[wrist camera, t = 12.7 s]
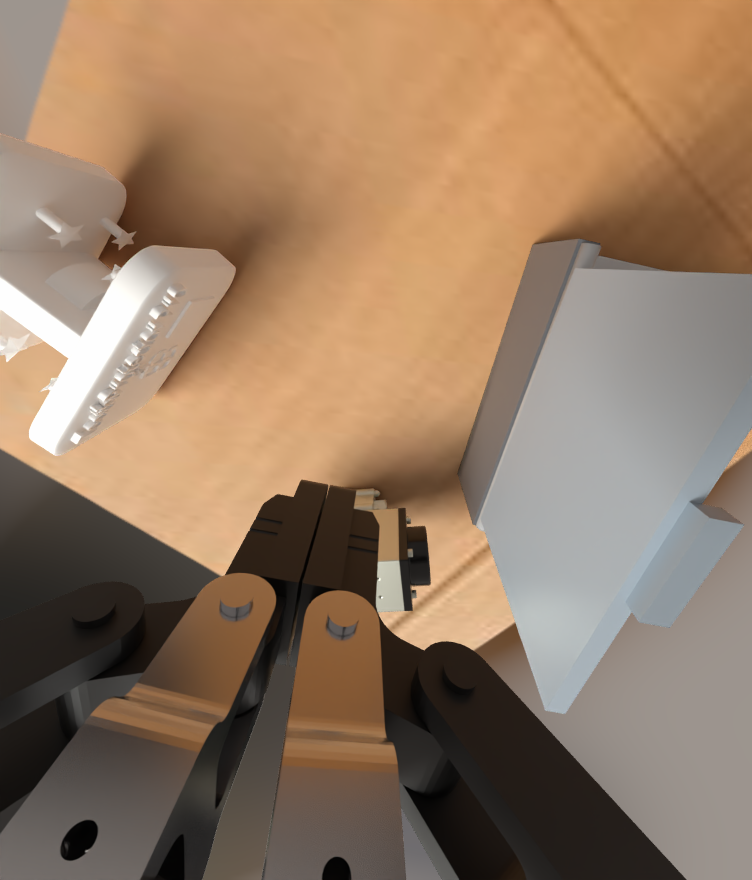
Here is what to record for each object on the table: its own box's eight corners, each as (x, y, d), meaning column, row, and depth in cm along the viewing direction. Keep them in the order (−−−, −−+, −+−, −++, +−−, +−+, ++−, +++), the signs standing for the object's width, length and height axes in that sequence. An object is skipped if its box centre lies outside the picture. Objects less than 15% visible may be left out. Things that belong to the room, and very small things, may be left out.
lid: (601, 274, 20) (574, 268, 20) (913, 291, 8) (850, 277, 8) (500, 522, 27) (480, 518, 27) (588, 739, 15) (553, 732, 15)
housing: (532, 244, 28) (586, 237, 20) (718, 286, 28) (840, 295, 21) (457, 473, 36) (475, 532, 28) (604, 502, 36) (661, 567, 29)
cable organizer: (125, 159, 27) (-50, 91, 16) (252, 272, 29) (173, 278, 19) (40, 326, 32) (-137, 357, 21) (155, 410, 34) (49, 475, 24)
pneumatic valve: (294, 486, 37) (253, 580, 26) (419, 477, 36) (431, 570, 25) (305, 533, 39) (271, 638, 28) (423, 526, 38) (435, 632, 27)
